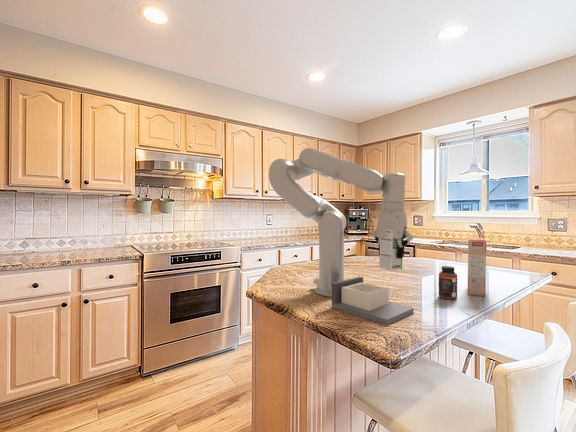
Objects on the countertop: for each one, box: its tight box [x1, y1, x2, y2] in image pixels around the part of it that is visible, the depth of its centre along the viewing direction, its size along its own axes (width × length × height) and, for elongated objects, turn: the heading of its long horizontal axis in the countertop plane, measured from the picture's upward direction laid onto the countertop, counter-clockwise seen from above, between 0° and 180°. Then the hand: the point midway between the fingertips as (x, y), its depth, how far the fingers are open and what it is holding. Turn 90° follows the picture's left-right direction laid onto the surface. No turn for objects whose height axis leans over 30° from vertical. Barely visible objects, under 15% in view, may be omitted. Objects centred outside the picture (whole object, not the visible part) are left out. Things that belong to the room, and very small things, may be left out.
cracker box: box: [467, 237, 487, 297], centre depth 116 cm, size 14×6×21 cm, turn 148°
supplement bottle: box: [438, 265, 458, 301], centre depth 108 cm, size 6×6×11 cm
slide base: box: [331, 276, 415, 326], centre depth 94 cm, size 20×15×8 cm
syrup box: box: [378, 229, 403, 271], centre depth 108 cm, size 6×6×14 cm
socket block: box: [341, 282, 390, 311], centre depth 96 cm, size 11×11×5 cm
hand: (390, 256), depth 108 cm, fingers closed on syrup box, 6 cm apart
